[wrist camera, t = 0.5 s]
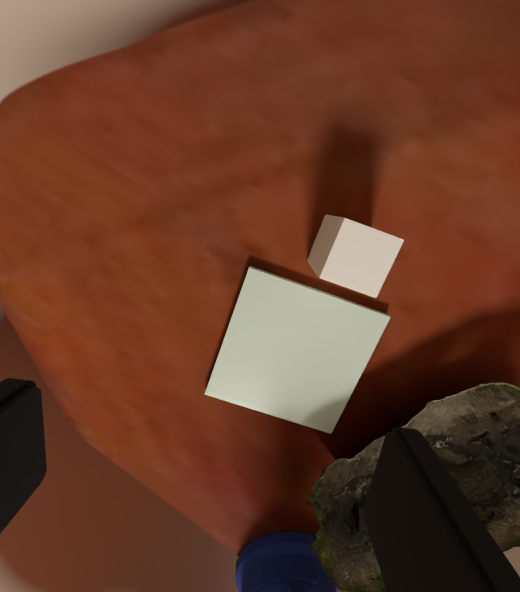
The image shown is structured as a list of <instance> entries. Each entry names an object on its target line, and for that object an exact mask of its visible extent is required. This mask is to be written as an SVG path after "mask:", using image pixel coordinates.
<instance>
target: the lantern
mask: <svg viewBox="0 0 520 592" xmlns="http://www.w3.org/2000/svg"><path fill="white" fill-rule="evenodd" d="M316 540H317V538H316V537H314V536H312V535H308V534H304V533H301V532H275V533H272V534H268V535H265V536H262V537H258V538H257V539H255V540H254V541H253V542H251V543H250V544H249V545H247V546H246V547H245V548H243V550H242V552H241V554H240V556H239V558H238V560H237V562H236V585H237V588H238V591H239V592H338V590H339V589H338V588H336V586H335V585H334V583H333V582H332V581H331V579H330V578H329V577H328V575H327V573H326V572H325V570H324V568H323V567H322V565H321V563H320V561H319V560H318V559H317V556H316V555H315V554H314V552H313V551H312V549H311V547H310V546H309V544H310V543H313V542H315V541H316Z"/></svg>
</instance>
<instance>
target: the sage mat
mask: <svg viewBox="0 0 520 592" xmlns="http://www.w3.org/2000/svg"><path fill="white" fill-rule="evenodd" d="M389 319H390V316H389V315H388V314H386V313H383V312H380V311H377V310H375V309H372V308H369V307H366V306H363V305H360V304H358V303H355V302H352V301H349V300H346V299H343V298H341V297H338V296H335V295H332V294H329V293H326V292H324V291H321V290H318V289H315V288H312V287H309V286H306V285H304V284H301V283H298V282H295V281H292V280H289V279H287V278H284V277H281V276H278V275H275V274H272V273H270V272H267V271H264V270H261V269H258V268H255V267H253V266H249V269H248V271H247V274H246V277H245V280H244V283H243V286H242V289H241V291H240V294H239V297H238V300H237V303H236V306H235V309H234V311H233V314H232V317H231V320H230V323H229V326H228V329H227V331H226V334H225V337H224V340H223V343H222V346H221V349H220V351H219V354H218V357H217V360H216V363H215V366H214V369H213V371H212V374H211V377H210V380H209V383H208V386H207V389H206V392H205V395H208V396H211V397H215V398H218V399H221V400H224V401H227V402H231V403H234V404H237V405H240V406H243V407H247V408H250V409H253V410H256V411H259V412H263V413H266V414H269V415H272V416H275V417H279V418H282V419H285V420H288V421H291V422H294V423H298V424H301V425H304V426H307V427H310V428H314V429H317V430H320V431H323V432H326V433H330V434H332V432H333V430H334V428H335V426H336V424H337V422H338V420H339V418H340V416H341V414H342V412H343V410H344V408H345V406H346V404H347V402H348V400H349V398H350V396H351V394H352V392H353V390H354V388H355V386H356V384H357V382H358V380H359V378H360V376H361V374H362V373H363V371H364V369H365V367H366V365H367V363H368V361H369V359H370V357H371V355H372V353H373V351H374V349H375V347H376V345H377V343H378V341H379V339H380V337H381V335H382V333H383V331H384V329H385V327H386V325H387V323H388V321H389Z"/></svg>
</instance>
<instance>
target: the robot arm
mask: <svg viewBox="0 0 520 592" xmlns="http://www.w3.org/2000/svg"><path fill="white" fill-rule="evenodd" d="M46 468H47V466H46V452H45V439H44V425H43V411H42V397H41V390H40V389H39V388H37V387H36V384H35V383H34V382H33V381H29V380H28V381H27V380H20V379H13V378H9V379H5V380H3V381H2V382H0V533H1V532H2V531H3V530H4V528H5V527H6V526H7V525H8V524H9V522H10V521H11V520H12V519H13V517H14V516H15V515H16V513H17V512H18V511H19V510H20V508H21V507H22V506H23V505H24V504H25V502H26V501H27V500H28V498H29V497H30V496H31V495H32V494H33V492H34V491H35V490H36V489H37V487H38V486H39V485H40V483H41V482H42V480H43V478H44V476H45V474H46ZM364 520H365V523H366V527H367V530H368V533H369V536H370V539H371V542H372V546H373V549H374V552H375V555H376V558H377V561H378V564H379V568H380V571H381V574H382V577H383V580H384V583H385V587H386V590H387V592H520V577H519V575H518V574H517V572H516V571H515V570H514V568H513V567H512V565H511V564H510V562H509V561H508V559H507V558H506V557H505V555H504V553H503V552H502V550H501V549H500V548H499V546H498V545H497V543H496V542H495V540H494V539H493V537H492V536H491V534H490V533H489V532H488V530H487V529H486V527H485V526H484V524H483V523H482V521H481V520H480V518H479V517H478V515H477V514H476V513H475V511H474V510H473V508H472V507H471V505H470V504H469V502H468V501H467V499H466V498H465V496H464V495H463V494H462V492H461V491H460V489H459V488H458V486H457V485H456V483H455V482H454V480H453V479H452V477H451V476H450V475H449V473H448V472H447V470H446V469H445V467H444V466H443V464H442V463H441V461H440V460H439V459H438V457H437V456H436V454H435V453H434V451H433V450H432V448H431V447H430V445H429V444H428V442H427V441H426V440H425V438H424V437H423V435H422V434H421V432H420V431H419V430H417V429H410V428H402V427H394V428H393V430H392V432H387V433H386V435H385V438H384V442H383V445H382V448H381V452H380V455H379V458H378V461H377V465H376V468H375V471H374V475H373V478H372V481H371V485H370V488H369V491H368V494H367V498H366V501H365V504H364Z"/></svg>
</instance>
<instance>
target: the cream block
mask: <svg viewBox="0 0 520 592" xmlns="http://www.w3.org/2000/svg"><path fill="white" fill-rule="evenodd" d="M403 242H404V240H403V239H400V238H397V237H395V236H392V235H389V234H387V233H384V232H381V231H379V230H376V229H373V228H371V227H368V226H365V225H363V224H360V223H357V222H355V221H352V220H349V219H347V218H343V217H338V216H332V215H326V214H325V217H324V219H323V222H322V224H321V227H320V229H319V231H318V234H317V236H316V239H315V241H314V244H313V246H312V249H311V251H310V254H309V256H308V259H307V262H308V263H309V264H310V266H311V267H312V269H313V270H314V271H315V273H316V274H317V275H318V277H319V278H321V279H324V280H326V281H329V282H332V283H335V284H338V285H340V286H343V287H346V288H349V289H352V290H354V291H357V292H360V293H363V294H366V295H369V296H371V297H374V298H376V297H377V295H378V293H379V291H380V289H381V287H382V285H383V283H384V281H385V279H386V277H387V275H388V272H389V270H390V268H391V266H392V264H393V262H394V260H395V258H396V256H397V254H398V252H399V250H400V248H401V246H402V244H403Z"/></svg>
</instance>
